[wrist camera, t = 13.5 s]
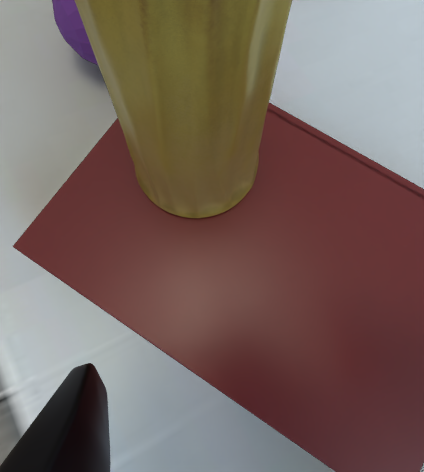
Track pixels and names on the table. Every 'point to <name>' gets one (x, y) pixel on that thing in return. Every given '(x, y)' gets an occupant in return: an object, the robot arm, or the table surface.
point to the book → (267, 287)
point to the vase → (189, 92)
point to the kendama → (73, 28)
